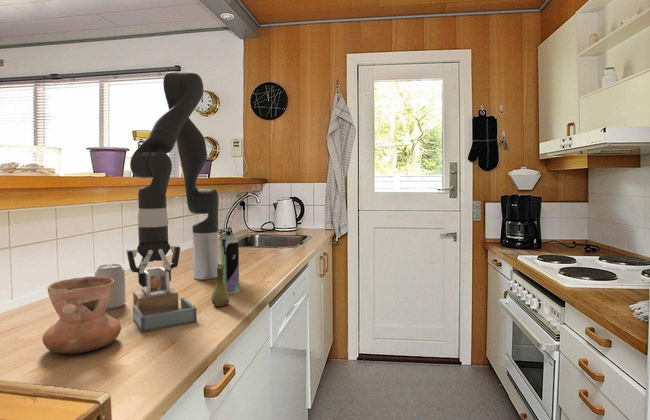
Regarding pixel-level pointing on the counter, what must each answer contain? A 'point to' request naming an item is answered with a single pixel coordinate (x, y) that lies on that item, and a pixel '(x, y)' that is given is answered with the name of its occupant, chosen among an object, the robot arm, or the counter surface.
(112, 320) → the ceramic jug
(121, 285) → the can
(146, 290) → the chute
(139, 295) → the stand
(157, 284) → the ball
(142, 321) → the tray
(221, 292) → the fennel bulb
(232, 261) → the spray can
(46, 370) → the counter surface
